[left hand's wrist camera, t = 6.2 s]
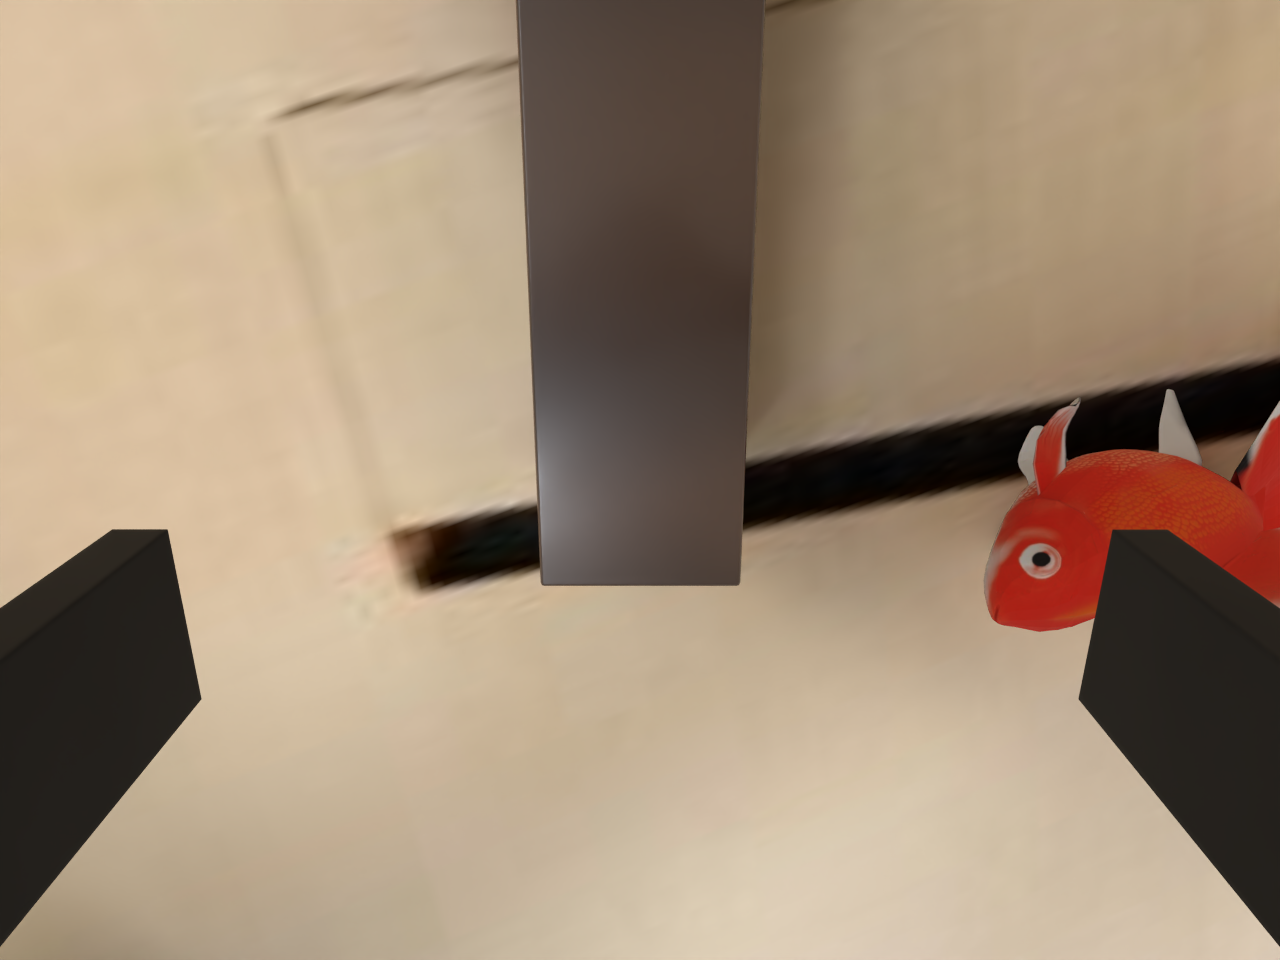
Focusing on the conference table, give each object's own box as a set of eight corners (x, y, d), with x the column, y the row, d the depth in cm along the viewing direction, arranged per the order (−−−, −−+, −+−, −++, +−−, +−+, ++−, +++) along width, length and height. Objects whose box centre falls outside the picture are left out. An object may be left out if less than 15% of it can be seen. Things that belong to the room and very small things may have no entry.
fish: (945, 267, 22) (1332, 494, 16) (1323, 184, 28) (1731, 324, 21) (866, 569, 29) (1111, 823, 22) (1184, 454, 35) (1459, 627, 28)
